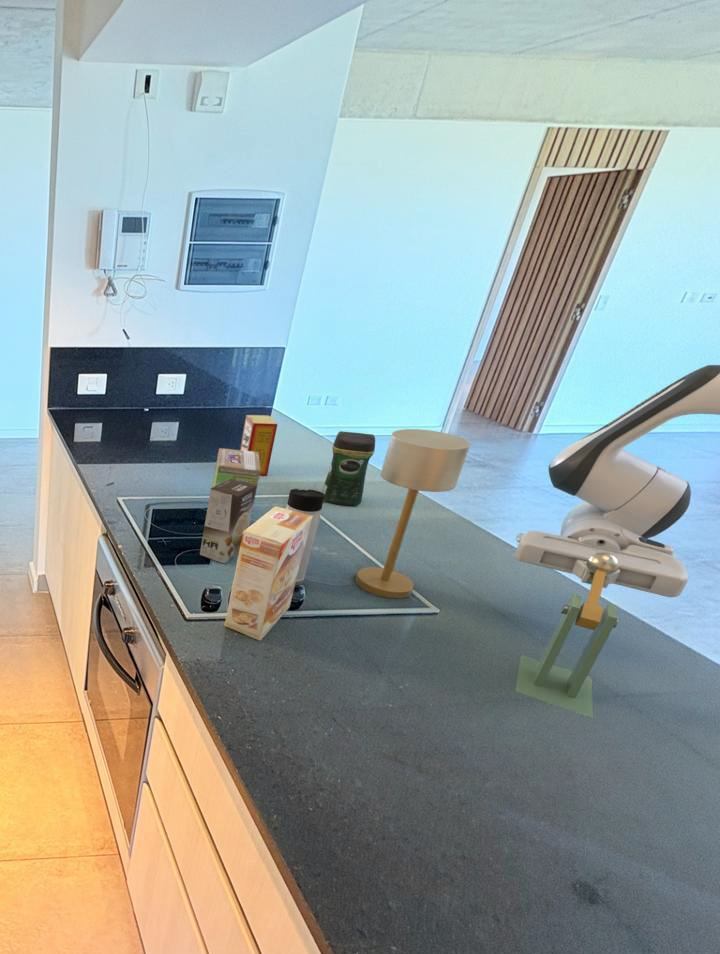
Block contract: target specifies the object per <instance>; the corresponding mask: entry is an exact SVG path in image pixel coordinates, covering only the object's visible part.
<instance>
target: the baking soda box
mask: <svg viewBox="0 0 720 954" xmlns="http://www.w3.org/2000/svg"><path fill="white" fill-rule="evenodd" d="M277 429H278V423H277V422H276V421H275V420H274V419H273V418H272V417H271V416H270V415H269V414H267V415H266V414H265V415H264V414H246V415H245V419H244V425H243V431H242V437H241V443H240V449H239V450H242V451H252V452H258V453H259V461H260V477H268V473H269V467H270V463H271V458H272V453H273V449H274V443H275V438H276V433H277Z"/></svg>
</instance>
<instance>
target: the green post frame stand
mask: <svg viewBox="0 0 720 954" xmlns="http://www.w3.org/2000/svg"><path fill="white" fill-rule="evenodd" d="M581 601H582V598H581V595H579V594H578V595H577V594H574V593H573V594H571V596H570V598H569V600H568V601H567V604H564V605H563V606H562V608H561V611H560V613H561V616H560V618H559V620H558V623H557V625H556V627H555V628H554V630H553V633H552V635H551V637H550V639H549V641H548V642H547V645H546V647H545V649H544V651H543V653H542V656H540V657H541V658H540V659H536V658H533V657H530V656H526V655H523V654H520V658H519V664H518V673H517V680H516V687H515V692H516V693H518V694H522V695H524V696H527V697H529V698H533V699H535V700H539V701H540V702H544V703H547V704H550V705H553V706H556V707H559V708H562V709H565V710H568V711H570V712H574V713H577V714H580V715H582V716H585V717H587V718H591V719H594V709H593V708H594V707H593V705H594V704H593V678H592V676H590V675H589V673H590V672H591V670H592V668H593V666H594V665H595V662H596V661H597V658H598V657H599V655H600V653H601V652H602V649H603V648H604V646H605V643H606V642H607V640H608V638H609V636H610V634H611V633H612V632H613V629H616V628H617V626H618V624H619V620H620V619H619V617H618V615H619V614H618V605H616V604H613V603H607V604H606V605H605V607H604V609H603V613H602V617H601V621H600V623H599V625H598V626H597V627H596V628H595V630H592V632H591V635H590V637H589V638H588V640H587V643H585V646H584V648H583V650H582V651H581V654H580V656H578V657H579V658H578V659H577V661H576V663H575V665H574V667H573V669H572V670H570V669H567V668H566V667H565V668H564V667H561V666H558V665H554V664H555V661H556V659H557V657H558V655H559V654H560V651H561V649H562V647H563V646H564V644H565V641H566V639H567V637H568V635H569V633H570V631H571V629H572V627H573V625H574V624H575V621H576V618H577V615H578V613H579V611H580V609H581V606H582V605H581V604H582V602H581Z"/></svg>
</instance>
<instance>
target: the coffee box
mask: <svg viewBox="0 0 720 954" xmlns="http://www.w3.org/2000/svg"><path fill="white" fill-rule="evenodd" d="M257 490H258V486H257V485H254V484H250V483H247V482H243V481H237V480H234V479H229V480H227V481H225V482H223V483H221V484H219V485H217V486H215V487H212V486H211V488H210V491H209V497H208V504H207V509H206V515H205V521H204V527H203V533H202V537H201V538H202V539H201V545H200V550H199V555H200V556H201V557H204V558H207V559H210V560H213V561H215V562H218V563H221V564H223V565H225V564H227V563H229V562H230V561H232V560H233V559H235V558H236V557H238V556H239V551H240V546H241V541H242V536H243V531H244V530H246V529H247V528H248V527H249V526H250V525H251V519H252V514H253V509H254V504H255V499H256V495H257Z"/></svg>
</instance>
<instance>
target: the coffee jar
mask: <svg viewBox="0 0 720 954" xmlns="http://www.w3.org/2000/svg"><path fill="white" fill-rule="evenodd" d="M331 447H332V450H331V451H332V458H331V463H330V466H329V469H328V473H327V475H326V478H325V481H324V483H323V487H322V491H321V492H322V493H324V494H325V497H324V502H327V503H330V504H336V505H342V506H358V505H360V504H361V503H362V499H363V495H364V489H365V488H364V487H365V480H366V474H367V470H368V466H369V462H370V459H371V458H372V457H373V455H374V453H375V451H376V450H375V449H376V436H375V435H374V434H373V433H372V434H371V433H362V432H354V431H343V430H340V431H338V432H337V434H336V437H335V439H334V442H333V444H332V446H331Z"/></svg>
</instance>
